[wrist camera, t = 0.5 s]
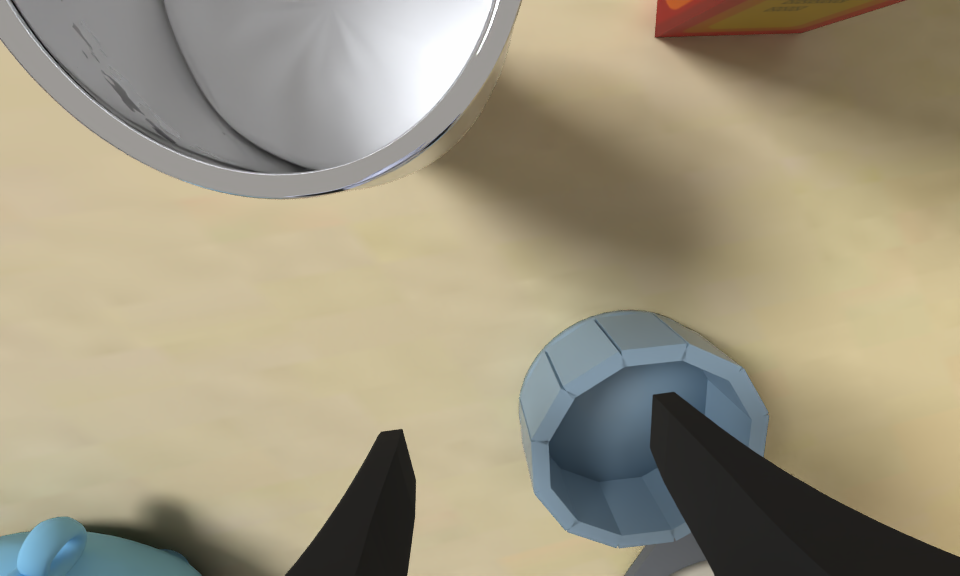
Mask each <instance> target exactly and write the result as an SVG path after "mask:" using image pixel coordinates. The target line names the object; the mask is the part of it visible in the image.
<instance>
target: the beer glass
mask: <svg viewBox="0 0 960 576" xmlns="http://www.w3.org/2000/svg"><path fill="white" fill-rule="evenodd" d="M521 3H522V0H0V40H1V41H2V42H3V44H4V45H5V46H6V47H7V49H8V50H9V51H10V53H11V54H12V55H13V56H14V57H15V59H16V60H17V61H18V62H19V63H20V65H21V66H22V67H23V68H24V69H25V70H26V71H27V73H28V74H29V75H30V76H31V77H32V78H33V79H34V80H35V81H36V82H37V83H38V84H39V86H40V87H41V88H42V89H43V90H44V91H45V92H46V93H47V94H48V95H49V96H51V97H52V98H53V99H54V100H55V101H56V102H57V103H58V104H59V105H60V106H61V107H62V108H63V109H65V110H66V111H67V112H68V113H69V114H70V115H72V116H73V117H74V118H75V119H76V120H77V121H79V122H80V123H81V124H82V125H84V126H85V127H86V128H88V129H89V130H90V131H91V132H93V133H94V134H96V135H97V136H99V137H100V138H101V139H103V140H104V141H106V142H107V143H109V144H110V145H112V146H113V147H115V148H116V149H118V150H120V151H121V152H123V153H125V154H126V155H128V156H130V157H131V158H133V159H135V160H137V161H139V162H140V163H142V164H144V165H146V166H148V167H150V168H152V169H154V170H157V171H159V172H161V173H163V174H166V175H168V176H170V177H173V178H175V179H178V180H180V181H183V182H186V183H189V184H192V185H195V186H198V187H201V188H205V189H208V190H212V191H216V192H220V193H225V194H230V195H235V196H241V197H248V198H257V199H274V200H288V199H305V198H313V197H320V196H326V195H332V194H336V193H340V192H345V191H353V190H361V189H367V188H372V187H376V186H380V185H384V184H387V183H390V182H393V181H396V180H398V179H401V178H404V177H406V176H408V175H411V174H413V173H415V172H417V171H419V170H421V169H423V168H425V167H426V166H428V165H430V164H431V163H433V162H434V161H436V160H437V159H439V158H440V157H441V156H443V155H444V154H445V153H446V152H448V151H449V150H450V149H451V148H452V147H453V146H454V145H455V144H456V143H457V142H458V141H459V140H460V139H461V138H462V137H463V136H464V135H465V134H466V133H467V131H468V130H469V129H470V128H471V126H472V125H473V124H474V122H475V121H476V120H477V118H478V117H479V115H480V114H481V112H482V110H483V109H484V107H485V105H486V103H487V101H488V100H489V98H490V96H491V94H492V91H493V89H494V87H495V85H496V83H497V81H498V78H499V76H500V74H501V71H502V68H503V65H504V62H505V59H506V56H507V53H508V49H509V46H510V42H511V37H512V33H513V29H514V24H515V22H516V19H517V16H518V13H519V9H520V6H521Z"/></svg>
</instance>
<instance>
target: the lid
mask: <svg viewBox="0 0 960 576" xmlns="http://www.w3.org/2000/svg"><path fill="white" fill-rule="evenodd" d="M669 576H715V575H714V573H713V571H712V569H711V567H710V565H709V563H708V561H707V560H705V561H701V562H698V563H695V564H692V565H690V566H687V567H684V568H682V569H680V570H678V571H676V572H674V573H672V574H671V575H669Z"/></svg>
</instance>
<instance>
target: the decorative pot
mask: <svg viewBox="0 0 960 576" xmlns="http://www.w3.org/2000/svg"><path fill="white" fill-rule="evenodd" d="M0 576H202V575H201V574H200V573H199V572H198V571H197V570H196V569H195V568H193V567H192V566H191V565H190V564H189V562H188V561H187V559H186V558H185V557H184V556H183V555H181V554H180V553H178V552H176V551H173V550H169V549H156V548H154V547H151V546H148V545H145V544H142V543H138V542H135V541H132V540H128V539H124V538H120V537H116V536H112V535H106V534H100V533H94V532H86V530H85V528H84V527H83V525H82V524H81V523H79V522H78V521H76V520H74V519H72V518H70V517H56V518H52V519H49V520H46V521H43V522H41V523H40V524H38V525H37V526H36V527H35V528H34V529H33V530H32V531H31V532H21V533H16V534H10V535H5V536H1V537H0Z"/></svg>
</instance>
